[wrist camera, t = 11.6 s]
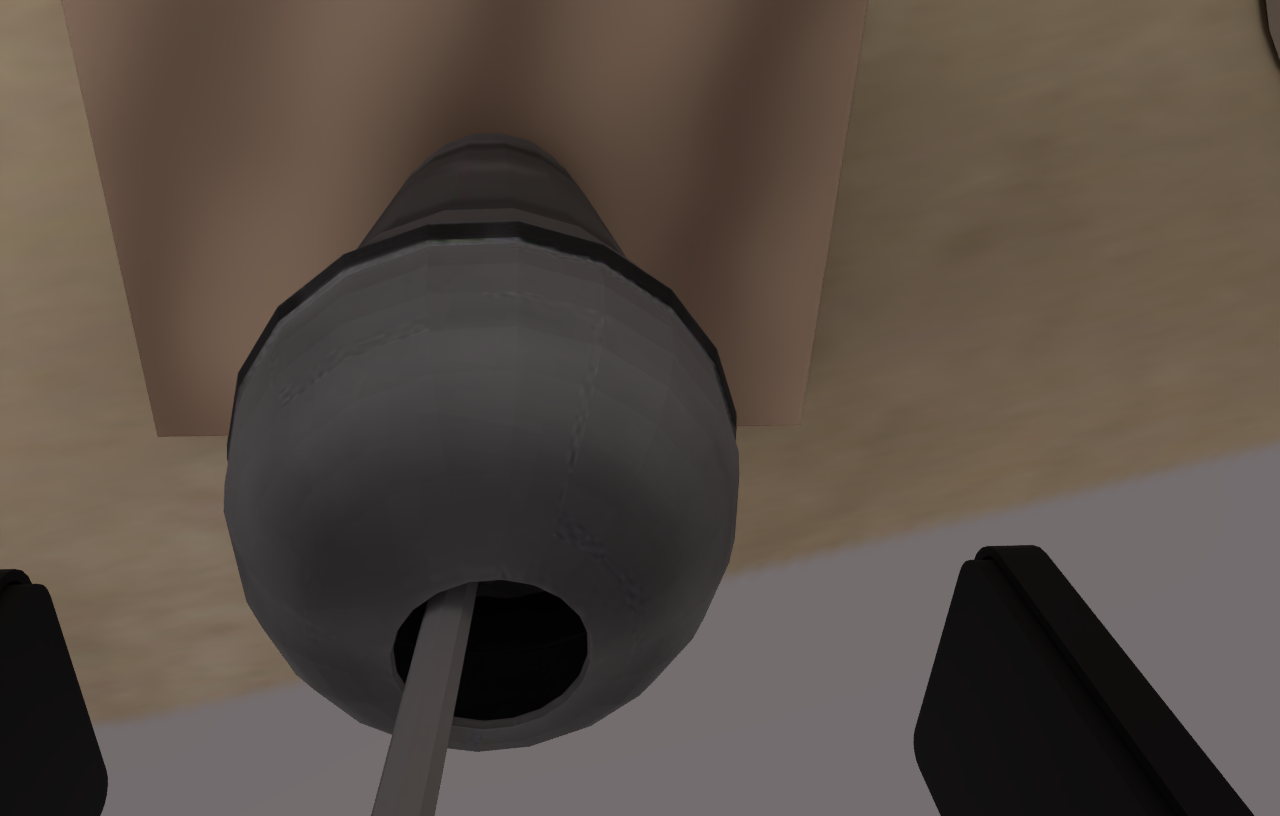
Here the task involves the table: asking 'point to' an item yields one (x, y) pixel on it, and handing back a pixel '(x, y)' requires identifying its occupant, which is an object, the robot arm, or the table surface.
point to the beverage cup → (481, 469)
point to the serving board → (447, 111)
